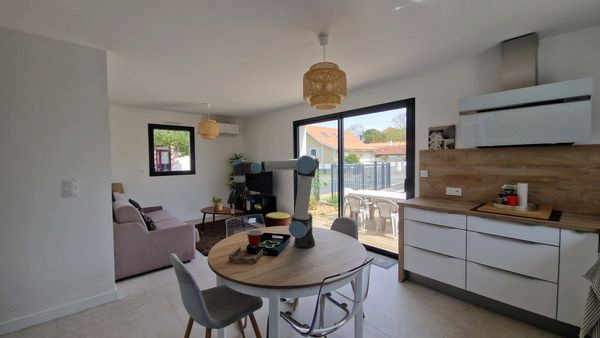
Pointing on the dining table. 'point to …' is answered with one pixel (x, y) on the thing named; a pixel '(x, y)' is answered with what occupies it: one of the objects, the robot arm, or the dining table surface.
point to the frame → (244, 259)
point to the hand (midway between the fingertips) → (240, 211)
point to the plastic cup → (254, 237)
